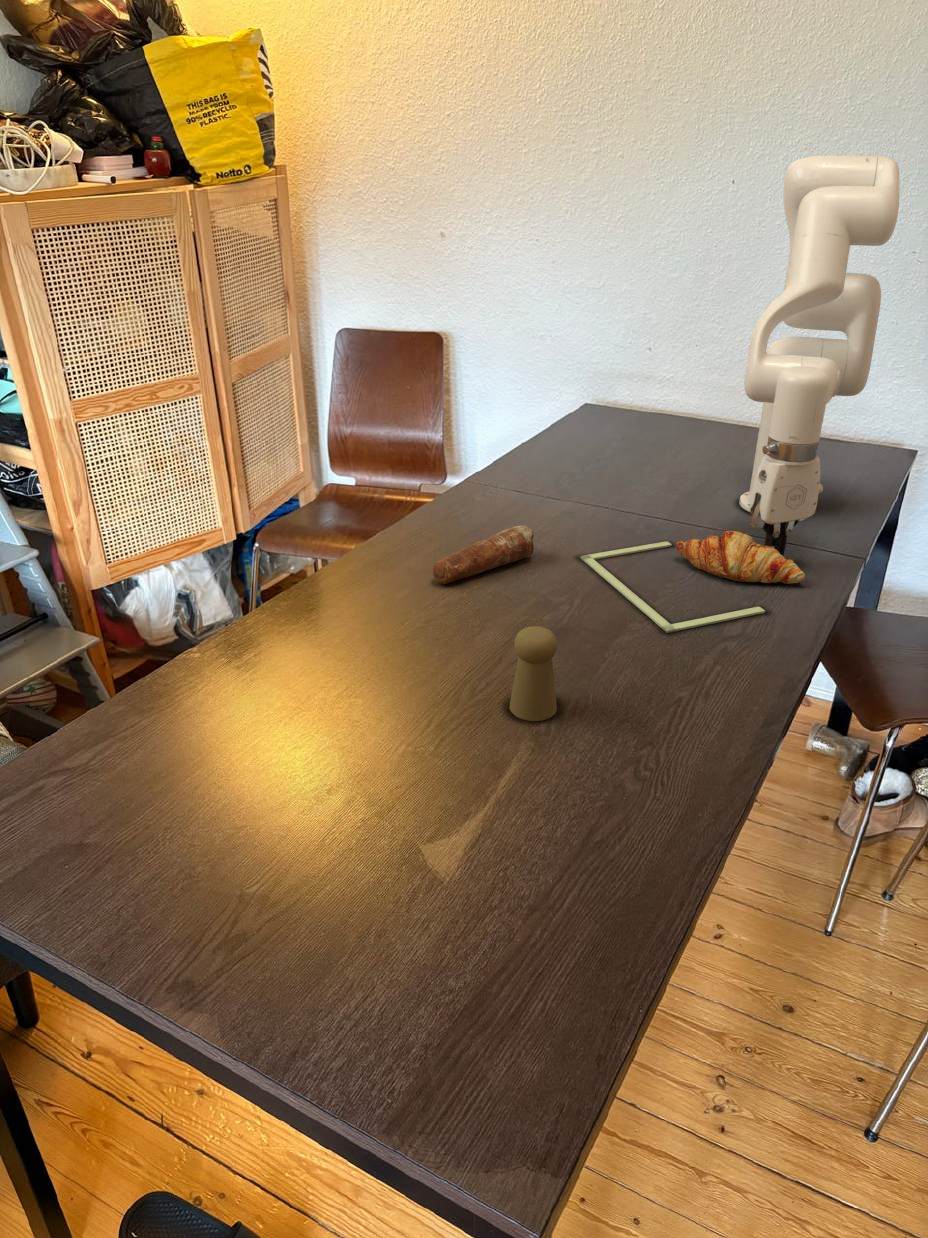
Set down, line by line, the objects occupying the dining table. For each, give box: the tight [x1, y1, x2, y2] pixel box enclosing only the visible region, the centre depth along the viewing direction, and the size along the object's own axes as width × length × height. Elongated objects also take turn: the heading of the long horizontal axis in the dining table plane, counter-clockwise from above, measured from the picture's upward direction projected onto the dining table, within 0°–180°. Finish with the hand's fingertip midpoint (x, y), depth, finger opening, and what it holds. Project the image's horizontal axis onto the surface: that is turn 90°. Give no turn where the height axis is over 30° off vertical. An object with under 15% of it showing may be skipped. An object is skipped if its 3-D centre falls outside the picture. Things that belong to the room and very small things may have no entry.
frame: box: [579, 540, 766, 634], centre depth 145 cm, size 17×28×1 cm, turn 21°
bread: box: [432, 524, 535, 585], centre depth 149 cm, size 6×19×6 cm, turn 126°
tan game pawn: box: [508, 625, 558, 722], centre depth 112 cm, size 6×6×11 cm
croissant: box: [675, 529, 806, 585], centre depth 148 cm, size 21×10×8 cm
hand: (772, 555), depth 150 cm, fingers closed
